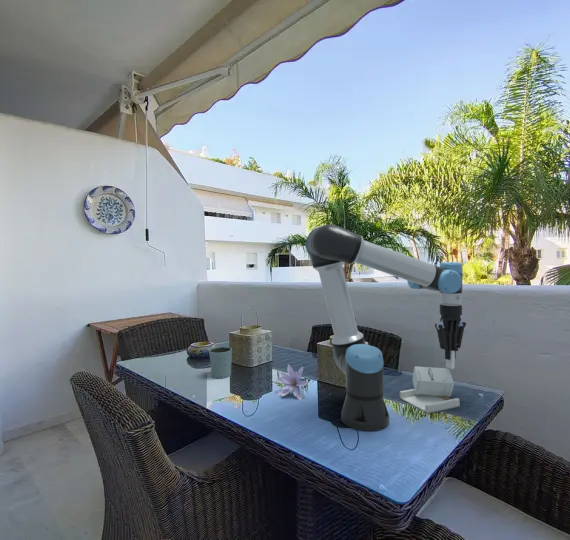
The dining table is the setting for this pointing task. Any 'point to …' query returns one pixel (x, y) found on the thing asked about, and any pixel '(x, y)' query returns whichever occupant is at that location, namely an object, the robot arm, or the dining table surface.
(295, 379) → the water lily
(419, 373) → the supplement box
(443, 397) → the stop batten
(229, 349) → the grey-green cup
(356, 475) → the dining table surface
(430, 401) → the cradle
